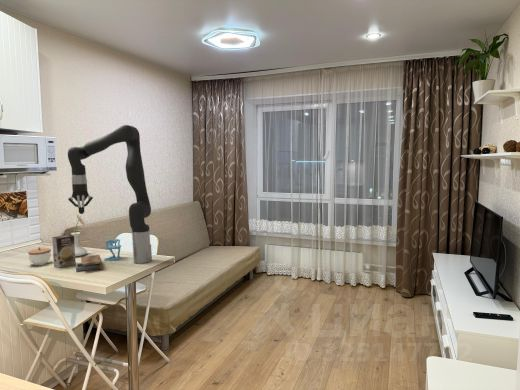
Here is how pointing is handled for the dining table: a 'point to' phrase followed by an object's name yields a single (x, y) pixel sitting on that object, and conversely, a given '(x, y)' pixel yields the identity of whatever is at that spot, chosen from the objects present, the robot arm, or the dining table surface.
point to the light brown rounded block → (92, 261)
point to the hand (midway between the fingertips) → (81, 213)
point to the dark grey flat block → (85, 267)
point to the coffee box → (63, 251)
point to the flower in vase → (78, 248)
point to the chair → (113, 248)
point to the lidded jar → (40, 256)
